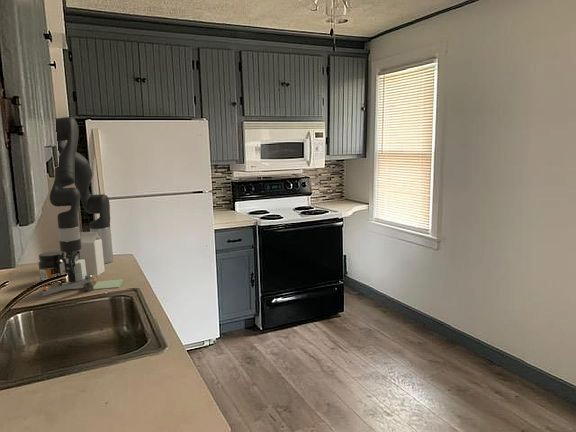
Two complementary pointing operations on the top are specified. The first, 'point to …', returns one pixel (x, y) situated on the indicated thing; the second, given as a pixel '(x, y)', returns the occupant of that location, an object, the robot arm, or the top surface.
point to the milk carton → (92, 253)
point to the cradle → (87, 285)
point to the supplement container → (50, 264)
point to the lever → (65, 286)
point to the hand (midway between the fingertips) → (74, 279)
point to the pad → (107, 284)
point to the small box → (76, 272)
